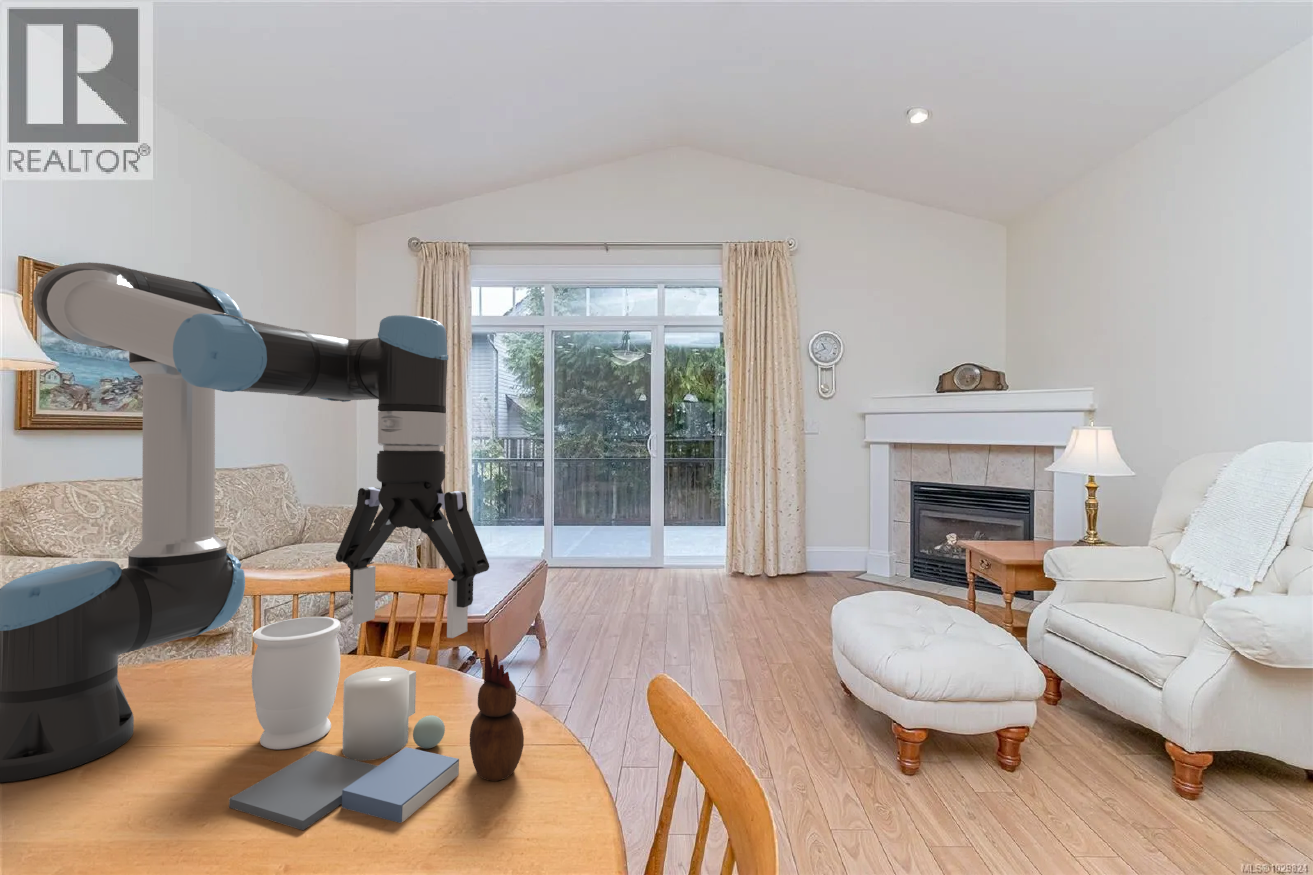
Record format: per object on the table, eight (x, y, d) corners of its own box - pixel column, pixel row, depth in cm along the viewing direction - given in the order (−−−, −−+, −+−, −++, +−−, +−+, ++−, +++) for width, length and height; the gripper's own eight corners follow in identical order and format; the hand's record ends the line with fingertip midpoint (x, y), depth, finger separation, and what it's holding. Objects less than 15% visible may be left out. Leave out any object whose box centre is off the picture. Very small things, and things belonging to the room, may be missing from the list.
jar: (298, 760, 76) (300, 642, 76) (230, 750, 78) (232, 635, 78) (355, 721, 86) (357, 618, 87) (294, 714, 89) (296, 613, 89)
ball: (405, 751, 79) (406, 720, 79) (426, 737, 82) (427, 708, 82) (430, 757, 77) (431, 726, 77) (450, 742, 81) (451, 712, 81)
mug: (328, 753, 78) (329, 684, 78) (389, 718, 88) (390, 656, 88) (376, 765, 75) (377, 694, 75) (434, 727, 85) (435, 664, 85)
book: (341, 811, 66) (342, 790, 66) (405, 766, 76) (405, 747, 76) (401, 827, 64) (401, 805, 64) (459, 778, 73) (459, 759, 74)
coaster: (228, 807, 66) (229, 798, 66) (315, 758, 77) (315, 750, 77) (302, 830, 62) (303, 820, 63) (383, 775, 73) (383, 767, 73)
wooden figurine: (462, 769, 75) (464, 649, 75) (505, 754, 78) (507, 639, 78) (485, 794, 69) (487, 665, 69) (529, 776, 73) (531, 654, 73)
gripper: (304, 447, 71) (301, 624, 71) (482, 451, 63) (479, 651, 63) (354, 446, 78) (352, 608, 78) (520, 450, 70) (517, 630, 70)
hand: (409, 628), depth 71 cm, fingers open, 13 cm apart
